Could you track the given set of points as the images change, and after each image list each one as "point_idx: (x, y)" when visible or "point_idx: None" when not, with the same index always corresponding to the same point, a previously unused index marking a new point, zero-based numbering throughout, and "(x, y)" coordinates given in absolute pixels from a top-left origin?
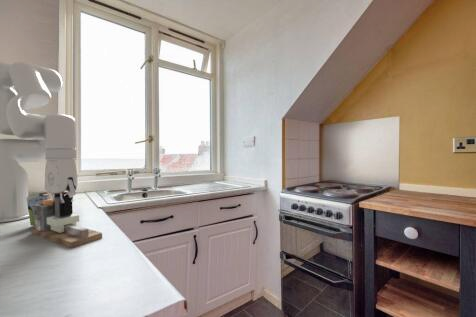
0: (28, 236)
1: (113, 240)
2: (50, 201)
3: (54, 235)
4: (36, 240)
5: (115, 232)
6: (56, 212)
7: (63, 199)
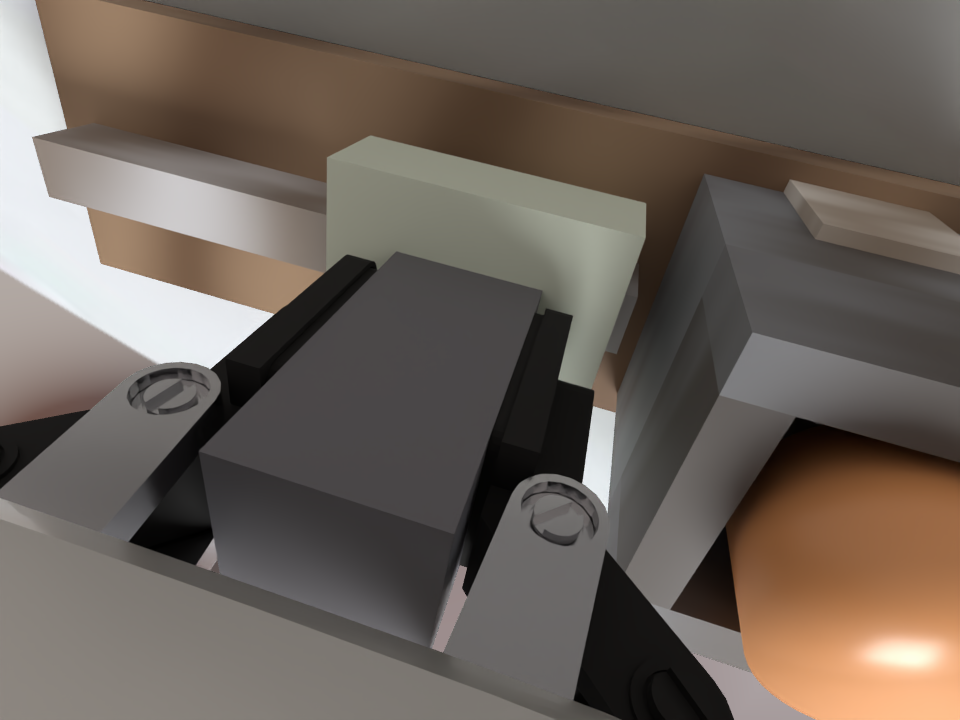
0: (931, 100)
1: (18, 221)
2: (796, 560)
3: (404, 91)
4: (649, 24)
5: (175, 357)
6: (469, 311)
7: (101, 421)
